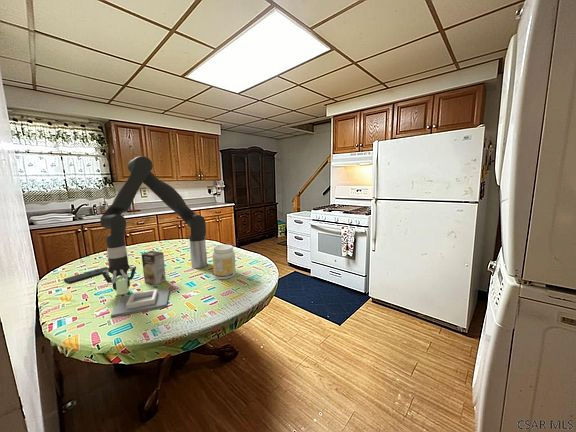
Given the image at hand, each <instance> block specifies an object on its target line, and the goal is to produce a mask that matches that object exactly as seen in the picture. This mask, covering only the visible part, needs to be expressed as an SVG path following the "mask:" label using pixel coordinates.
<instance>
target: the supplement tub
mask: <svg viewBox="0 0 576 432" xmlns="http://www.w3.org/2000/svg"><path fill="white" fill-rule="evenodd" d="M212 262H213V263H212V265H213V276H214V278H215V279H218V280H228V278H229V279H232V278H233V277H234V276H235V275H236V272H237V271H236V254H235V250H234V247H233V245H231V244H219V245H215V246H214V247H213V253H212Z"/></svg>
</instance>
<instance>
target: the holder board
mask: <svg viewBox="0 0 576 432" xmlns="http://www.w3.org/2000/svg"><path fill="white" fill-rule="evenodd" d="M169 296H170V288H165V289H158V288H154V289H149V290H144V291H139V292H133V293H131V294H130V295H124V296H121V297H120V298H119V300H118V302H117V303H116V305H115V307H114V309H113V310H112V313H110V318H115V317H121V316H125V315H130V314H137V313H141V312H146V311H152V310H155V309H160V308H167V306H168V300H169Z"/></svg>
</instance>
